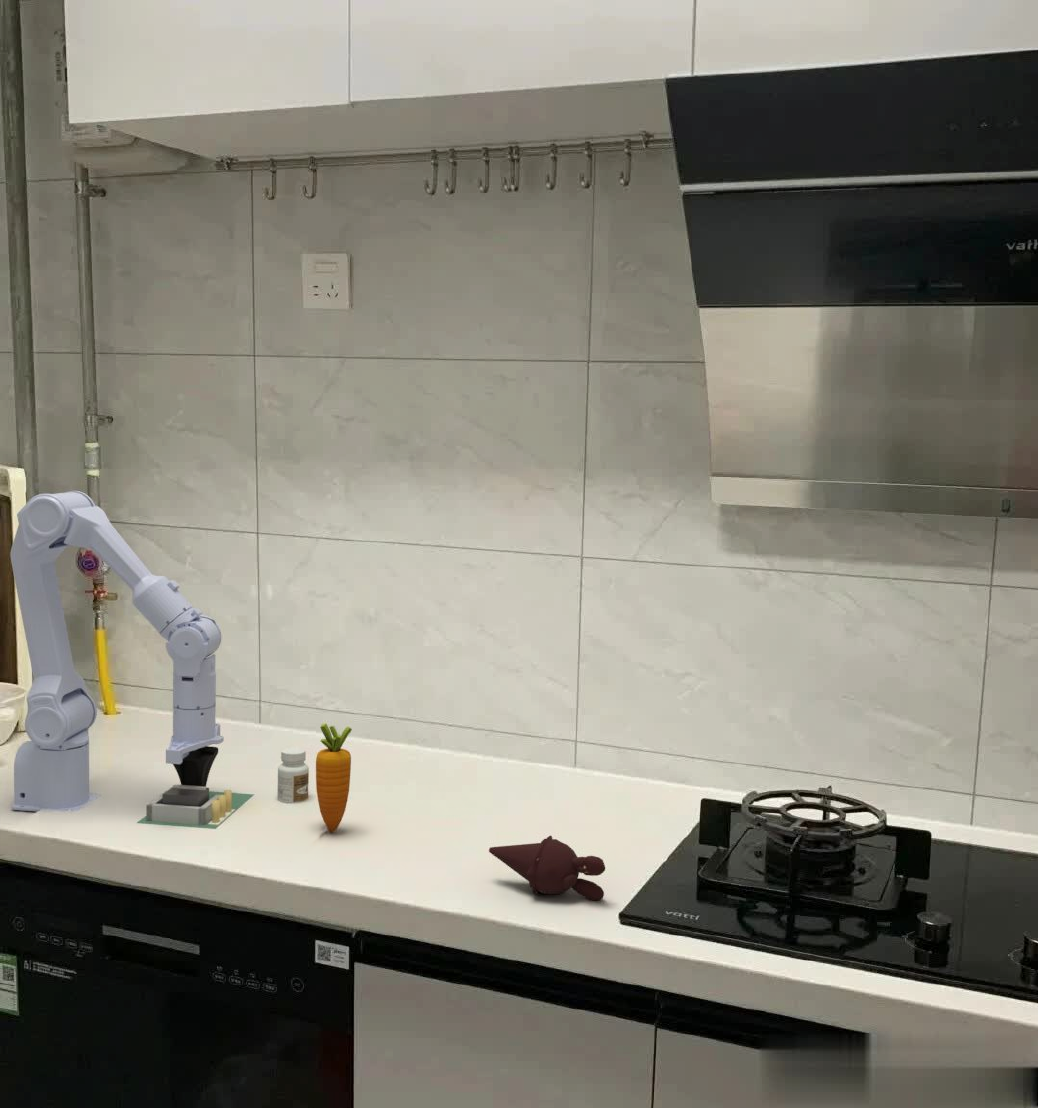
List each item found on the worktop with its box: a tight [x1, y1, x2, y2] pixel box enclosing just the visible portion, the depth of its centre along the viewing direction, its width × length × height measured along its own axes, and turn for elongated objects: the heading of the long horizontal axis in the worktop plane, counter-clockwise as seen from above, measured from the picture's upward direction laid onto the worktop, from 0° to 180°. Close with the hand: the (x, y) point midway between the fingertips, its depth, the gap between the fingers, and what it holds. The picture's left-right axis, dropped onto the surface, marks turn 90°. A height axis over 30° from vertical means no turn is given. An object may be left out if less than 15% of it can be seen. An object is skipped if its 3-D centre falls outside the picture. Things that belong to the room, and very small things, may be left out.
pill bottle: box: [277, 746, 310, 804], centre depth 168 cm, size 4×4×8 cm
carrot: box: [315, 723, 352, 834], centre depth 156 cm, size 5×5×15 cm
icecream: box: [488, 835, 606, 902], centre depth 139 cm, size 7×7×15 cm
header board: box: [136, 789, 255, 830], centre depth 163 cm, size 11×15×4 cm
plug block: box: [162, 784, 210, 807], centre depth 159 cm, size 5×4×4 cm
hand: (194, 800), depth 163 cm, fingers closed
